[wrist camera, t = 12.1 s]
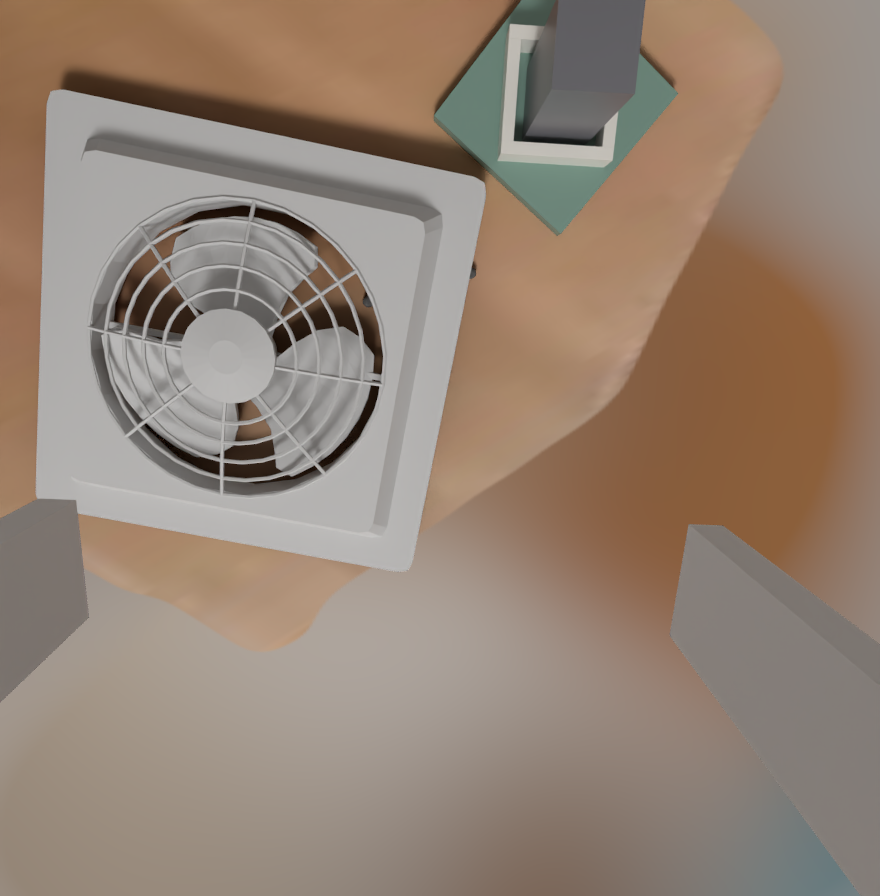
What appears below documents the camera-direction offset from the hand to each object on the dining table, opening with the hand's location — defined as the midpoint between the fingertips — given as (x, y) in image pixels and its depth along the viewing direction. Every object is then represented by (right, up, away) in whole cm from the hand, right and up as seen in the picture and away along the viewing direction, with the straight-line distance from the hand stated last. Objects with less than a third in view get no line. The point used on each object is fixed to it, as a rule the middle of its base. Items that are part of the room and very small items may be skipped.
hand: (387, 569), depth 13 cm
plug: (+9, +26, +28) cm, 39 cm away
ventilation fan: (-13, +10, +32) cm, 36 cm away
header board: (+9, +27, +29) cm, 40 cm away
